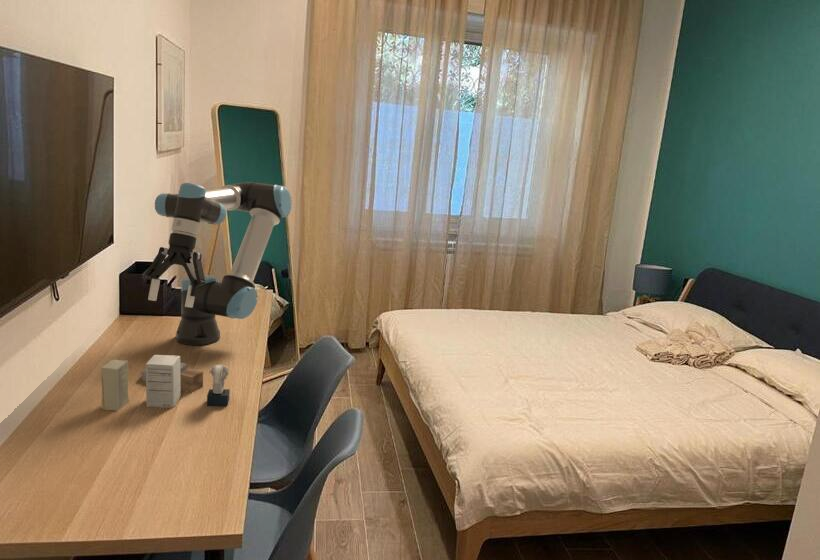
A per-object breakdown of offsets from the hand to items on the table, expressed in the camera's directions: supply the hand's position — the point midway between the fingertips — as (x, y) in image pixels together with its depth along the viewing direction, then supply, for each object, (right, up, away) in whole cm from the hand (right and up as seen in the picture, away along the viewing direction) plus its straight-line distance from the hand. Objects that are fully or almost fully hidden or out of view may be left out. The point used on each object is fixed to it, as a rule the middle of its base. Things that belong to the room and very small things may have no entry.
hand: (170, 303), depth 178 cm
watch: (+17, -28, -9) cm, 34 cm away
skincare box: (-8, -27, -17) cm, 33 cm away
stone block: (-4, -23, +5) cm, 24 cm away
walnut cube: (+7, -25, -2) cm, 26 cm away
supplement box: (+3, -27, -12) cm, 30 cm away
